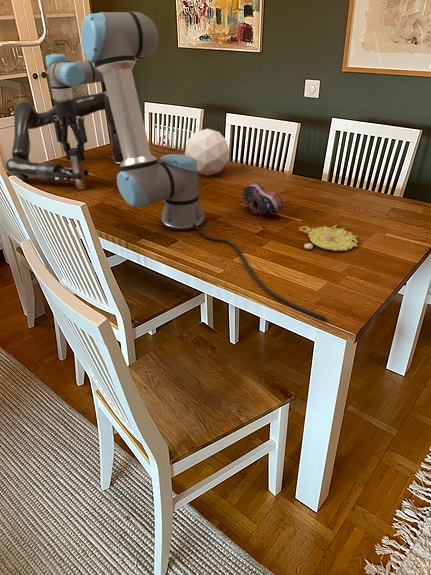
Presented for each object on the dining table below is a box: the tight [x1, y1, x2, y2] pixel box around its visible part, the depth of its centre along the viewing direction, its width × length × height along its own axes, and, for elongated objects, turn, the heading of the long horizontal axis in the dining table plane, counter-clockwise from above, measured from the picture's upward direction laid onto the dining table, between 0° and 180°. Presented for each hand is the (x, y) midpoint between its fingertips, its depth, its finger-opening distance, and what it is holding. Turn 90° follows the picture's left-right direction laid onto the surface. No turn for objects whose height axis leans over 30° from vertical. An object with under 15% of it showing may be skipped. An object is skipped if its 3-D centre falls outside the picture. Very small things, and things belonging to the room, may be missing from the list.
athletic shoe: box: [238, 182, 284, 217], centre depth 160 cm, size 11×22×12 cm
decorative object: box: [299, 224, 359, 252], centre depth 141 cm, size 21×2×20 cm
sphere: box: [184, 128, 231, 177], centre depth 195 cm, size 19×20×20 cm
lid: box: [68, 147, 78, 156], centre depth 180 cm, size 5×5×2 cm
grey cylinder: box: [69, 155, 88, 191], centre depth 184 cm, size 4×4×16 cm
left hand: (84, 175), depth 185 cm, fingers closed on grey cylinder, 4 cm apart
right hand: (76, 160), depth 182 cm, fingers open, 5 cm apart
